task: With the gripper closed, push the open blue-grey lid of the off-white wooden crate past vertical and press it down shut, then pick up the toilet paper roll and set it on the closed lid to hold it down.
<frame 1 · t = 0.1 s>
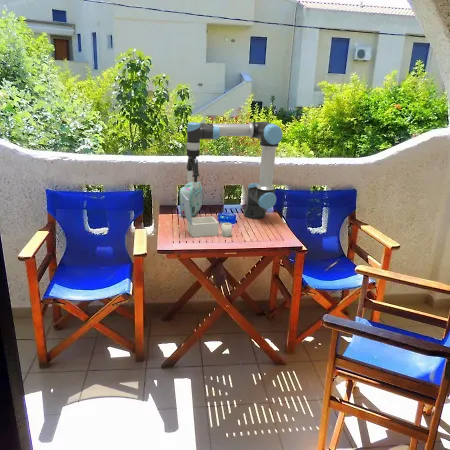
hand: (192, 184, 255), 28 cm above the table, fingers open, 13 cm apart
lunch box: (191, 213, 292), on the table
lid: (187, 209, 249), point 16 cm above the table, hinge at 100.0°
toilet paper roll: (226, 235, 255), on the table
crate: (202, 232, 257), on the table
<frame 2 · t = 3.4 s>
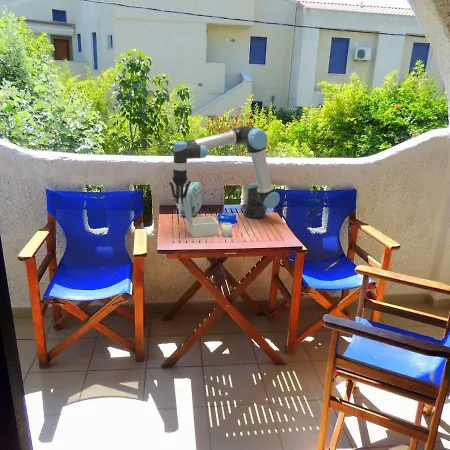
hand: (179, 208, 247), 16 cm above the table, fingers closed
lid: (187, 209, 249), point 16 cm above the table, hinge at 98.4°, touching gripper
everything else where it was.
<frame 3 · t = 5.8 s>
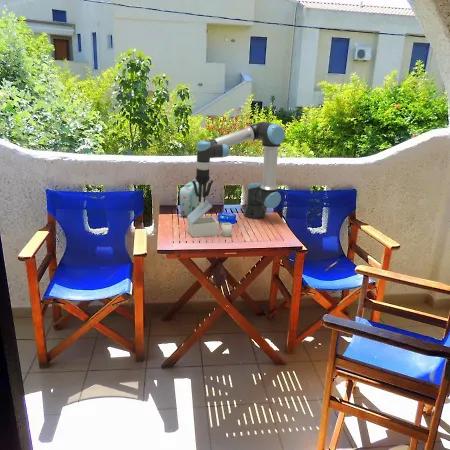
hand: (201, 207, 251), 16 cm above the table, fingers closed
lid: (199, 211, 252), point 14 cm above the table, hinge at 41.7°, touching gripper
everything else where it was.
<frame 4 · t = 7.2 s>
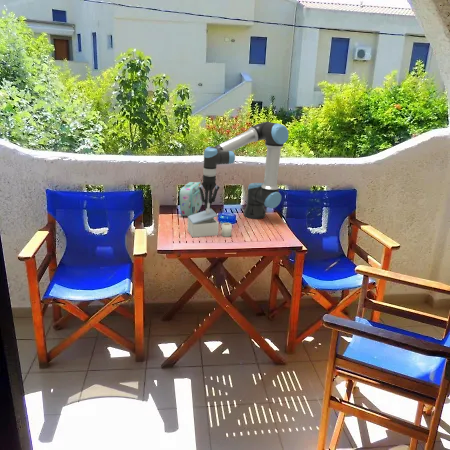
hand: (207, 213, 254), 13 cm above the table, fingers closed
lid: (202, 216, 253), point 11 cm above the table, hinge at 15.2°, touching gripper
everything else where it was.
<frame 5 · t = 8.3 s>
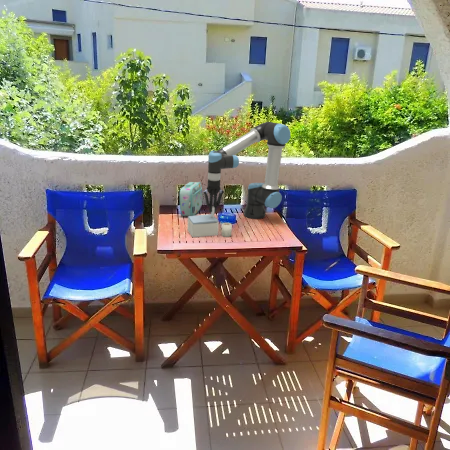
hand: (212, 217, 256), 10 cm above the table, fingers closed
lid: (203, 219, 254), point 9 cm above the table, hinge at 1.7°, touching gripper
everything else where it was.
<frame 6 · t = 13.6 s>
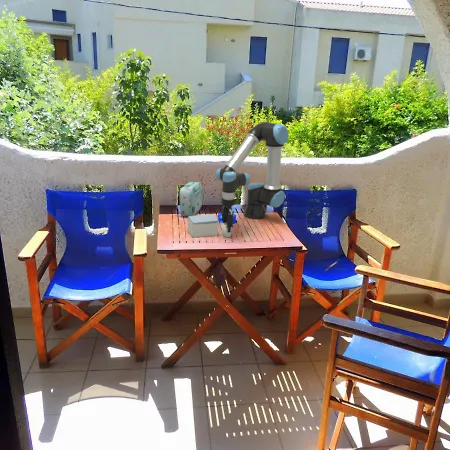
hand: (226, 234, 255), 0 cm above the table, fingers closed on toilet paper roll, 6 cm apart
lid: (203, 219, 254), point 9 cm above the table, hinge at 1.7°
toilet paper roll: (226, 235, 255), on the table, touching gripper
everything else where it was.
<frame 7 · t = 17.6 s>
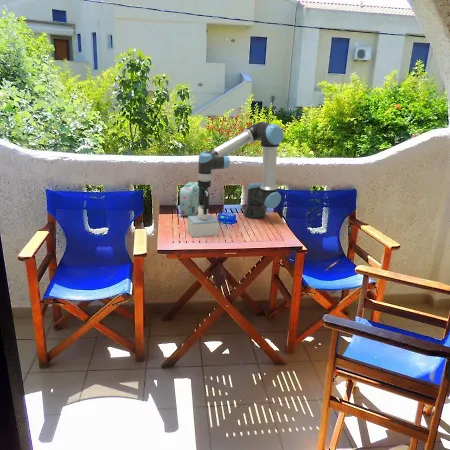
hand: (203, 217, 254), 10 cm above the table, fingers closed on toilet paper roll, 6 cm apart
lid: (203, 219, 254), point 9 cm above the table, hinge at -0.3°, touching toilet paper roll
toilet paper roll: (202, 218, 254), point 9 cm above the table, touching gripper, lid
everything else where it was.
when the fingers open (10 cm above the table, at t = 17.7 s): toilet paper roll stays where it is, resting on lid.
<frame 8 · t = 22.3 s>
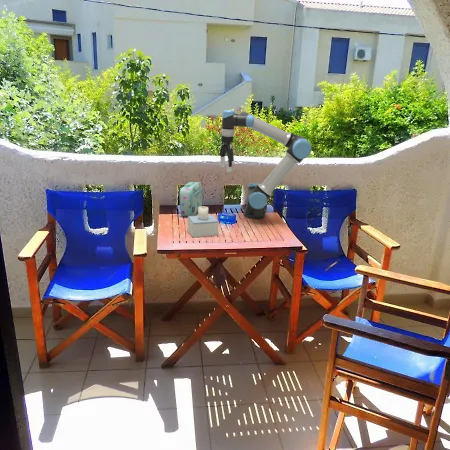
hand: (225, 169, 269), 35 cm above the table, fingers open, 13 cm apart
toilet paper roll: (202, 218, 254), point 9 cm above the table, touching lid
everything else where it was.
at the end: lid at +0° (first picture: +100°); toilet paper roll inside the target area on the crate (0.1 cm from its centre), point 9.1 cm above the crate's base; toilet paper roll tilted 1° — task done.
